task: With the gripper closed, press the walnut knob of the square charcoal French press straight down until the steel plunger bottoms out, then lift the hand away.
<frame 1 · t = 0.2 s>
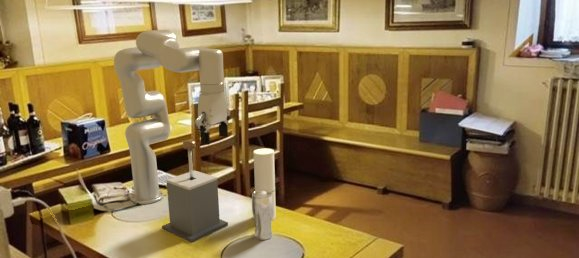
hand: (214, 139, 156), 32 cm above the table, tool pointing down, fingers open, 9 cm apart
plunger: (190, 165, 160), point 23 cm above the table, slide at 0.0 cm
press: (195, 227, 165), on the table
beer glass: (263, 236, 159), on the table
cylindrical container: (265, 217, 172), on the table
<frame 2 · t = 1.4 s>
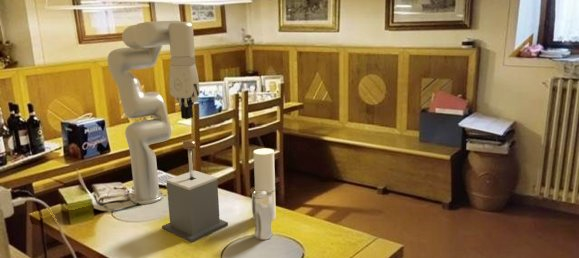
hand: (187, 117, 156), 39 cm above the table, tool pointing down, fingers closed
nothing on the table moved.
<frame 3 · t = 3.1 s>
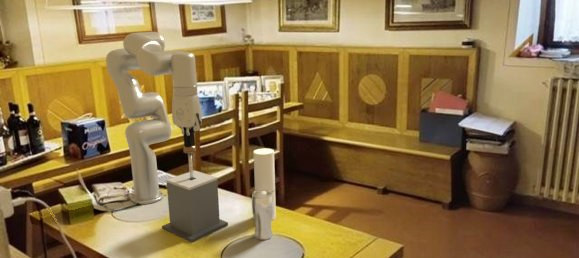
hand: (189, 145, 158), 30 cm above the table, tool pointing down, fingers closed
plunger: (191, 170, 160), point 21 cm above the table, slide at 1.5 cm, touching gripper
everything else where it was.
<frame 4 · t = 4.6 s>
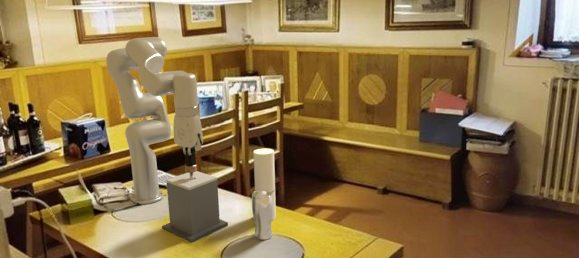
hand: (191, 165, 160), 23 cm above the table, tool pointing down, fingers closed
plunger: (192, 188, 162), point 14 cm above the table, slide at 8.1 cm, touching gripper
everything else where it was.
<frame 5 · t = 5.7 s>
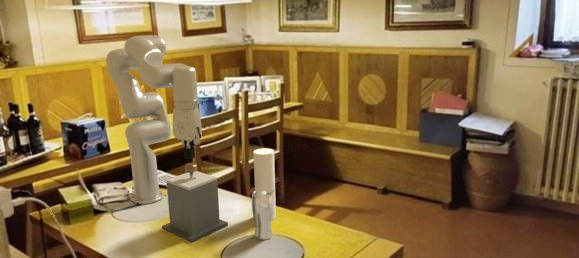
hand: (189, 158, 159), 25 cm above the table, tool pointing down, fingers closed
plunger: (192, 188, 162), point 14 cm above the table, slide at 8.1 cm
everything else where it was.
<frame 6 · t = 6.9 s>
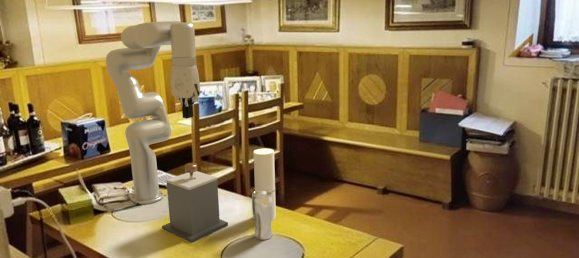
hand: (188, 117, 158), 39 cm above the table, tool pointing down, fingers closed
nothing on the table moved.
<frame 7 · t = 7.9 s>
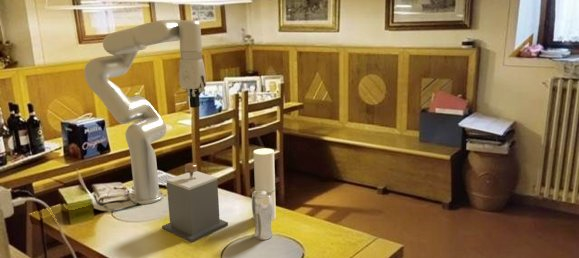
hand: (195, 106, 173), 39 cm above the table, tool pointing down, fingers closed
nothing on the table moved.
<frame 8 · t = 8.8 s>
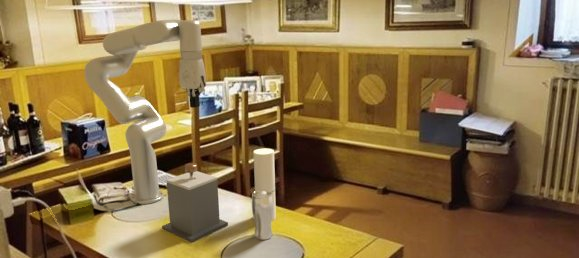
hand: (195, 106, 173), 39 cm above the table, tool pointing down, fingers closed
nothing on the table moved.
at the end: plunger slide at 8.1 cm; the gripper is holding nothing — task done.
